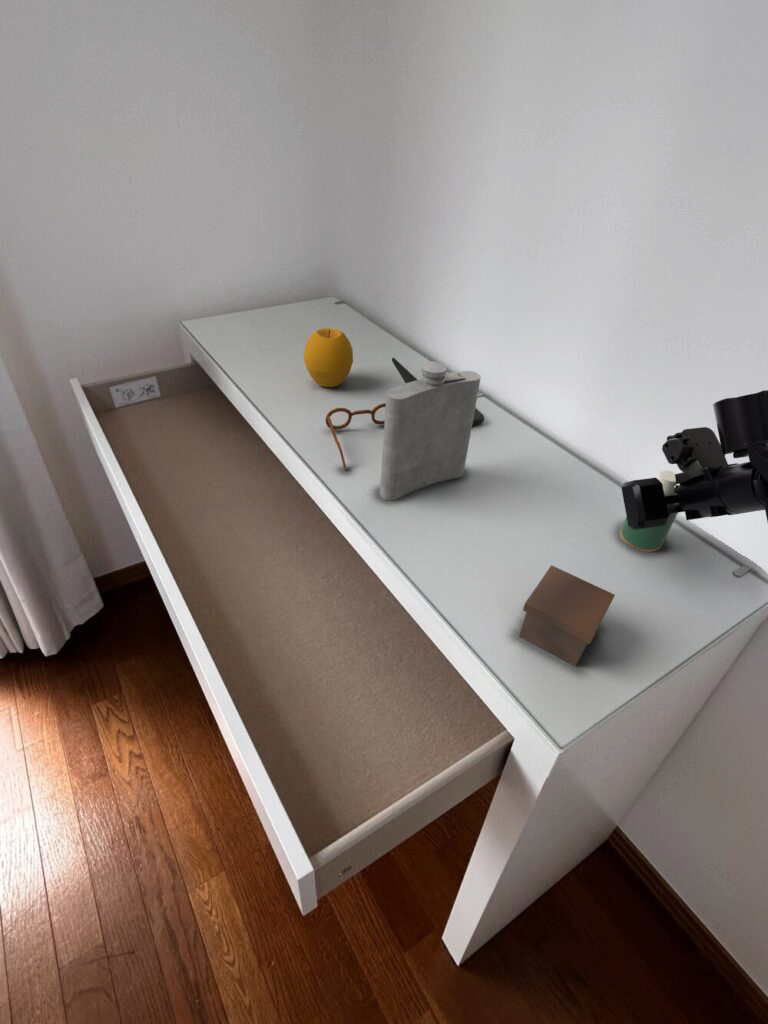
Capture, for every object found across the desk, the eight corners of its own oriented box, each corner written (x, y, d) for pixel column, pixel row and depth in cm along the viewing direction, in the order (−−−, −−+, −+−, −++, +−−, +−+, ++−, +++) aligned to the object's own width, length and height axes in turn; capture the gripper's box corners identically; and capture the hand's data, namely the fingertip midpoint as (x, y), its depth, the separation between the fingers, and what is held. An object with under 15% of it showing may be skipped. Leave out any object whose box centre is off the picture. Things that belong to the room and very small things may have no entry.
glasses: (394, 423, 106) (395, 399, 103) (418, 462, 97) (420, 436, 94) (325, 431, 103) (324, 406, 100) (342, 472, 93) (343, 446, 90)
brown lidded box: (600, 627, 71) (615, 594, 67) (577, 670, 66) (592, 637, 62) (540, 597, 74) (551, 564, 70) (514, 636, 69) (524, 603, 65)
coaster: (663, 533, 86) (664, 531, 86) (659, 557, 82) (660, 555, 81) (623, 520, 88) (624, 518, 88) (617, 542, 84) (618, 540, 83)
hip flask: (386, 502, 88) (396, 383, 75) (373, 488, 90) (379, 371, 78) (467, 474, 95) (488, 361, 82) (452, 462, 97) (470, 351, 85)
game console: (486, 424, 108) (495, 380, 102) (422, 436, 103) (427, 391, 97) (446, 387, 119) (452, 346, 113) (387, 397, 114) (389, 354, 108)
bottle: (671, 544, 83) (702, 483, 76) (640, 553, 81) (669, 492, 74) (642, 519, 88) (669, 459, 81) (612, 528, 85) (637, 467, 79)
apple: (310, 398, 112) (309, 340, 104) (299, 376, 119) (297, 321, 111) (358, 393, 115) (360, 336, 107) (344, 372, 122) (345, 317, 114)
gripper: (786, 415, 70) (690, 444, 85) (658, 429, 66) (581, 456, 81) (804, 505, 69) (704, 517, 84) (675, 525, 65) (595, 534, 80)
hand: (647, 504), depth 82 cm, fingers closed on bottle, 6 cm apart
